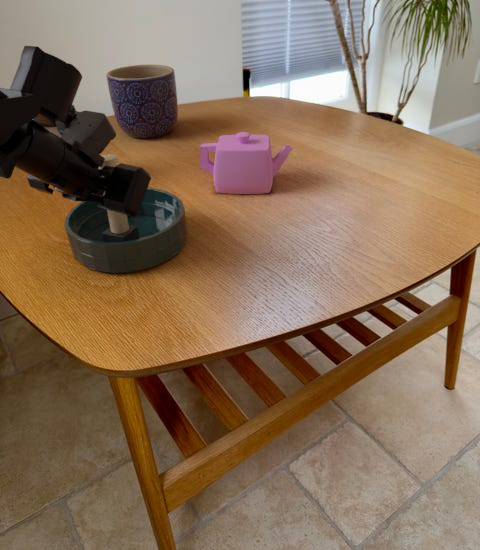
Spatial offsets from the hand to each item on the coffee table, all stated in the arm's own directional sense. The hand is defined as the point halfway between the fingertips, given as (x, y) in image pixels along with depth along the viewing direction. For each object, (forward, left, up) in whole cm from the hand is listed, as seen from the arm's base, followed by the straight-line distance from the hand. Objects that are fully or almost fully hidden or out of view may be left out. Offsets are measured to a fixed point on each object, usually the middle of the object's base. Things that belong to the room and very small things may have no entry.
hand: (123, 200), depth 67 cm
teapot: (+24, +15, -7) cm, 29 cm away
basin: (0, -1, -7) cm, 7 cm away
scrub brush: (-1, -2, -7) cm, 7 cm away
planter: (+9, +54, -7) cm, 55 cm away
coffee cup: (-10, +29, -7) cm, 31 cm away
